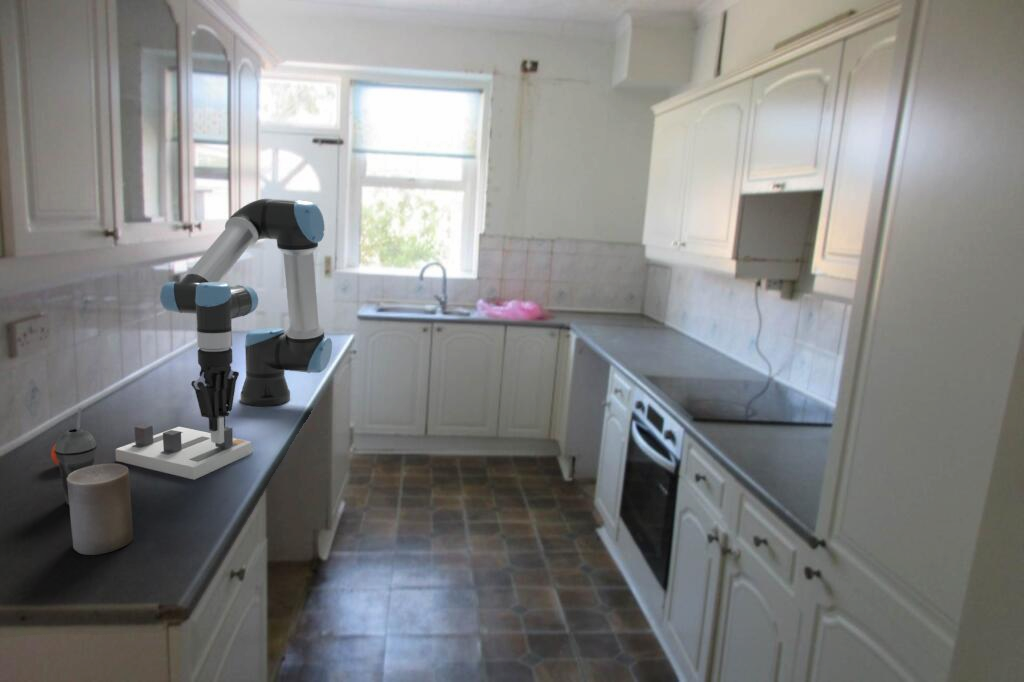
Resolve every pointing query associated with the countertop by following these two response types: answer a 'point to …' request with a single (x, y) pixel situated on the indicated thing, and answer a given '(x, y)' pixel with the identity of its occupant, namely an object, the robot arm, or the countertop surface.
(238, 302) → the robot arm
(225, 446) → the handle
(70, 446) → the beverage cup
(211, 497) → the countertop surface
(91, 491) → the pillar candle
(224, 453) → the breaker panel
